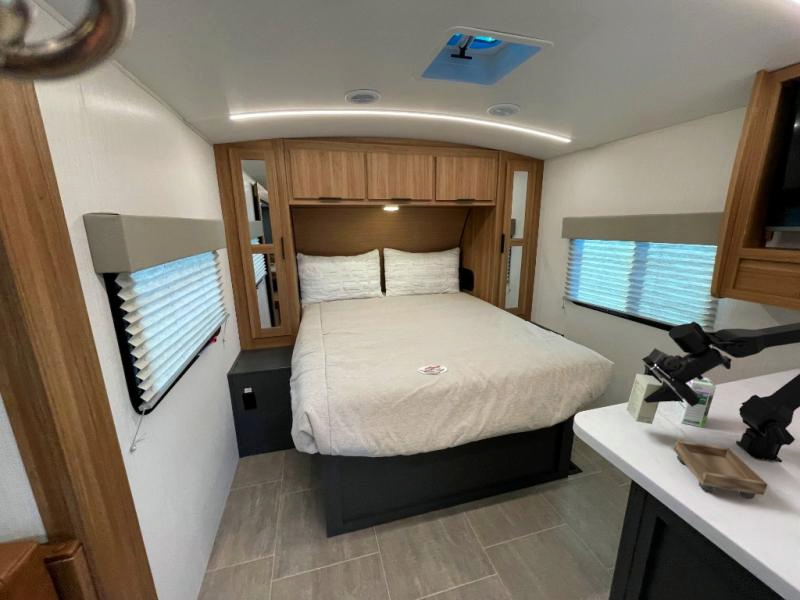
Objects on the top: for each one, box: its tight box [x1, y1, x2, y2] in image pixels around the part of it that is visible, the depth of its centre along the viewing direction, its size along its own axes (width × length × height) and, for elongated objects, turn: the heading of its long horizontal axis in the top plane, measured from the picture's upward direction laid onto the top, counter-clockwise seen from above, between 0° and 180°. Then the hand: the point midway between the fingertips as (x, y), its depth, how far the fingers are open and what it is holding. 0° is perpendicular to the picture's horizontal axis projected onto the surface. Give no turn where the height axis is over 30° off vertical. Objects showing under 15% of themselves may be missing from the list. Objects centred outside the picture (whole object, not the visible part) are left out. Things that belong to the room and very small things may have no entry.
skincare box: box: [625, 373, 663, 425], centre depth 91 cm, size 6×4×12 cm
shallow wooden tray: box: [673, 440, 769, 500], centre depth 78 cm, size 12×12×5 cm
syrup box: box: [674, 377, 717, 428], centre depth 99 cm, size 6×6×14 cm
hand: (639, 394), depth 91 cm, fingers closed on skincare box, 6 cm apart
